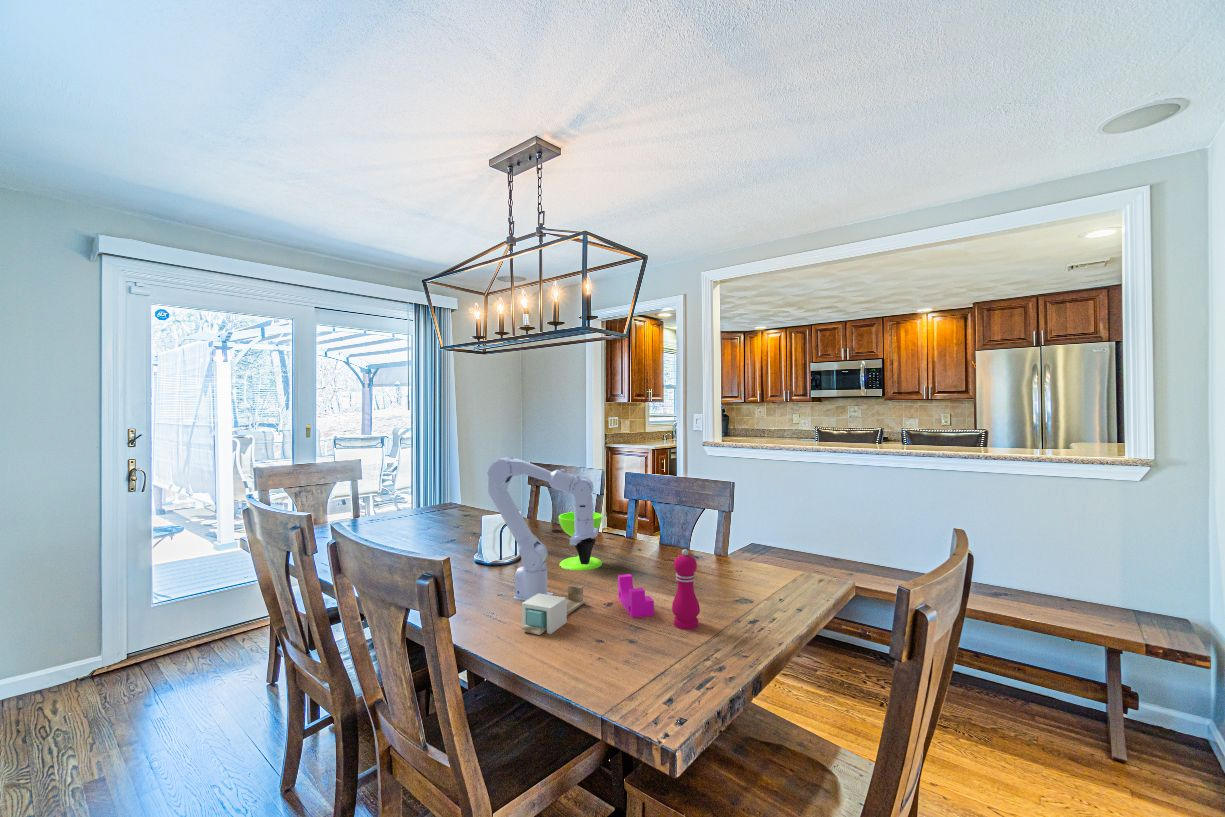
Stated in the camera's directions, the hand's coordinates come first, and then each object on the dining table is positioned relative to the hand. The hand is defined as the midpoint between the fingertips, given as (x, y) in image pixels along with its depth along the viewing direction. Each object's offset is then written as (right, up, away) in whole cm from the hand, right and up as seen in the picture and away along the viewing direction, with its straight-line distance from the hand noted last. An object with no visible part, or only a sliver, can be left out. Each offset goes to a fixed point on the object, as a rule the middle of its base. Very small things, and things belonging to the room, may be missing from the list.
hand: (584, 563), depth 159 cm
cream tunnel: (-10, -11, -20) cm, 25 cm away
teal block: (-11, -9, -23) cm, 27 cm away
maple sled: (-7, -10, -15) cm, 19 cm away
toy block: (+15, -11, -8) cm, 20 cm away
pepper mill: (+28, -10, -21) cm, 36 cm away
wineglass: (-3, -11, +34) cm, 36 cm away
